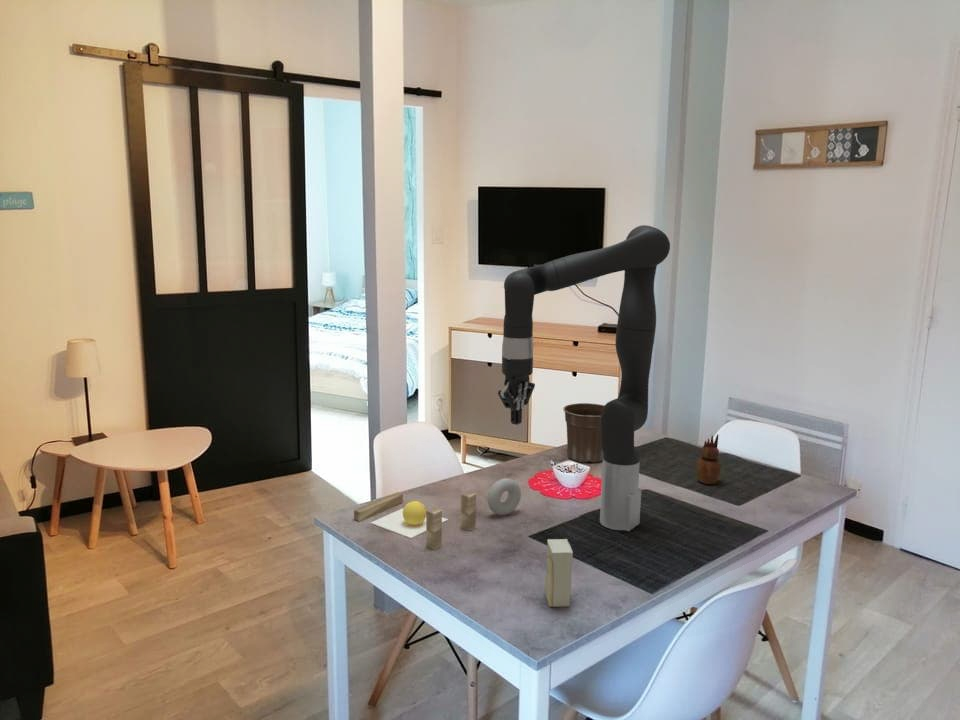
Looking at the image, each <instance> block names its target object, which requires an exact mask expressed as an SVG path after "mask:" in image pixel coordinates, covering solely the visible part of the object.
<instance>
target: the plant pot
mask: <svg viewBox="0 0 960 720" xmlns="http://www.w3.org/2000/svg"><path fill="white" fill-rule="evenodd" d="M605 405H606V404H605ZM605 405H604V404H598V403H587V402H585V403H584V402H582V403H581V402H580V403H572V404H570V403H569V404H567V405H565V406H564V407H563V412H564V420H565V423H566V440H567V441H566V442H567V445H566V446H567V456H568V458H569V459H570V460H573V461H574V462H577V463H579V462H580V463H586V464H587V463H588V462H591V463H592V464H594V463H600V462H603V452H602V449H601V444H600V420H601V413H602V409H603V407H604V406H605Z"/></svg>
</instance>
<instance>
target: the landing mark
mask: <svg viewBox="0 0 960 720" xmlns="http://www.w3.org/2000/svg"><path fill="white" fill-rule="evenodd" d="M403 509H404V507H403V508H401V509H398V510H396V511H393V512H391V513H389V514H387V515H385V516H382V517H380V518H378V519H376V520H373V521H371V522H370V525H374V526H377V527H380V528H382V529H385V530H387V531H390V532H392V533H394V534H398V535H400V536H403V537H405V538H409V539H413V538H415V537H417V536H419V535H421V534H423V533H426V518H425V520H424V521H423V522H422V523H421V524H419V525H410V524H408V523H407V522H406V521H405V520H404V518H403ZM447 521H449V519H448V518H446V517H443V516H442V524H443V523H445V522H447Z"/></svg>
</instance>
